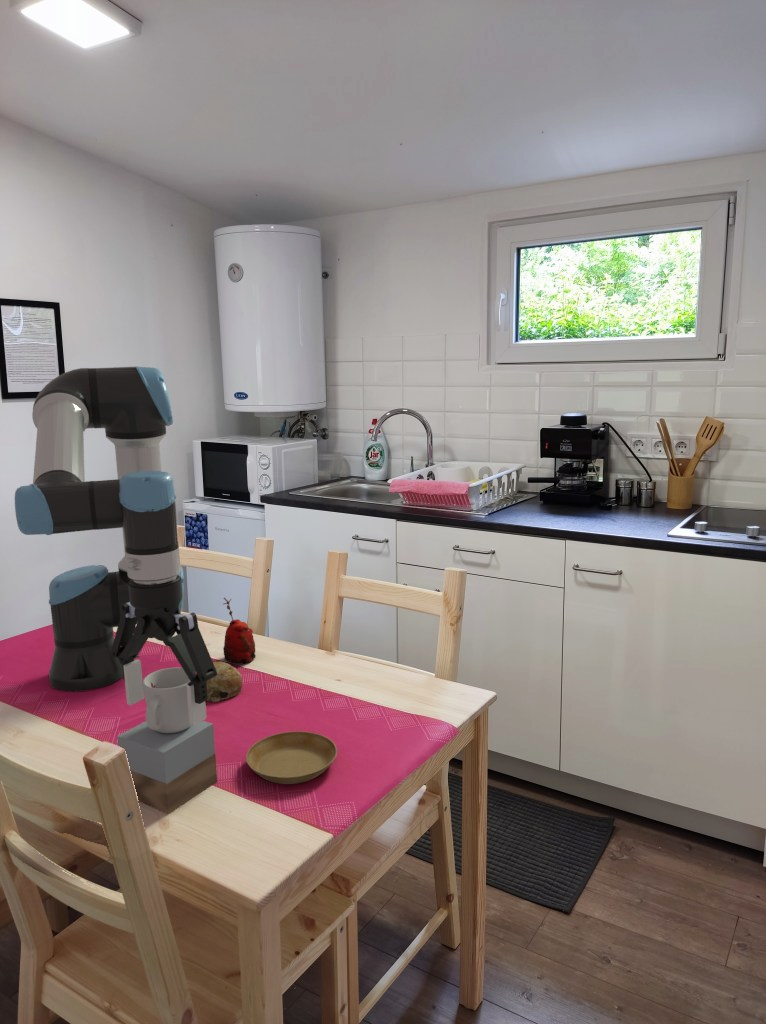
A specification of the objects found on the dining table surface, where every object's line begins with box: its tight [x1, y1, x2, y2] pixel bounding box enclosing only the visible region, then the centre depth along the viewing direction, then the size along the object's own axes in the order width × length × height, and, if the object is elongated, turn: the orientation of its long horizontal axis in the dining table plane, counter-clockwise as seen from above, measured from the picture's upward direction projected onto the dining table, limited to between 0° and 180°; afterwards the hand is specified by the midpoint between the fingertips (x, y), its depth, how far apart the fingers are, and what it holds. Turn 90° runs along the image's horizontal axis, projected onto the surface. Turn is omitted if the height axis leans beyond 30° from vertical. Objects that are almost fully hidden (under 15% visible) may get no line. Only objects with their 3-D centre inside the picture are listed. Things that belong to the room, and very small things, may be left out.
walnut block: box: [130, 753, 218, 815], centre depth 115 cm, size 10×10×5 cm
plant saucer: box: [245, 730, 338, 785], centre depth 121 cm, size 15×15×3 cm
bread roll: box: [195, 661, 243, 703], centre depth 149 cm, size 10×10×8 cm
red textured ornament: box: [222, 597, 256, 664], centre depth 164 cm, size 8×7×15 cm
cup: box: [142, 666, 191, 733], centre depth 113 cm, size 11×8×8 cm
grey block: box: [116, 720, 216, 784], centre depth 114 cm, size 10×10×5 cm
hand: (165, 711), depth 113 cm, fingers open, 13 cm apart
